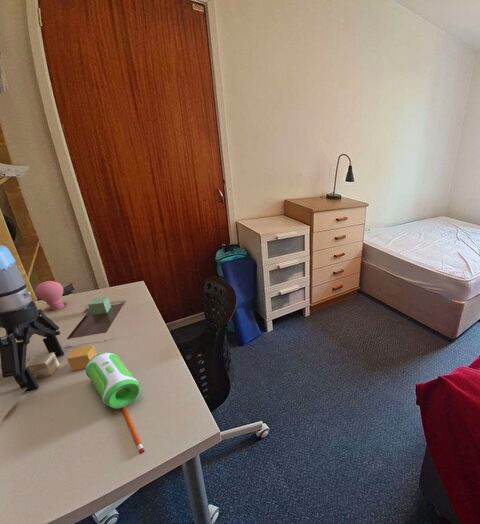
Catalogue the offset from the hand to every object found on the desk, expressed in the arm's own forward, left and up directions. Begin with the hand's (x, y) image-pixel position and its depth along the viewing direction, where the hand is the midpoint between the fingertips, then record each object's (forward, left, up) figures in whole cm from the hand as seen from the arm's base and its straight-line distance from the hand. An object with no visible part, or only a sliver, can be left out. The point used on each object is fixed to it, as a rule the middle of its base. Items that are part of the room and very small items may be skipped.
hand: (45, 371), depth 78 cm
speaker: (+20, -14, 0) cm, 24 cm away
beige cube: (0, 0, 0) cm, 0 cm away
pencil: (+26, -27, -1) cm, 38 cm away
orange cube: (+9, 0, 0) cm, 9 cm away
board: (+4, +24, 0) cm, 24 cm away
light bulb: (-12, +38, 0) cm, 40 cm away
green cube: (+4, +30, +1) cm, 30 cm away
